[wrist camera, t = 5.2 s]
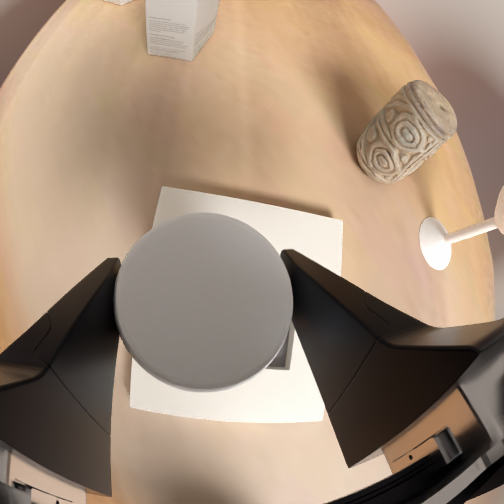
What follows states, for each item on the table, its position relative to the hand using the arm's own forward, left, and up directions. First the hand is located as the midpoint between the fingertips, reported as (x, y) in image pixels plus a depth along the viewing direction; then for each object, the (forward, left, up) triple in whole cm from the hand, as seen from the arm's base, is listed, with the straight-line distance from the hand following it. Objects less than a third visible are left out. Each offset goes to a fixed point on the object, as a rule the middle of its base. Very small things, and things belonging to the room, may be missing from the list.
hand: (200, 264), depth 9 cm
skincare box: (+30, +8, -13) cm, 34 cm away
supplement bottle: (-1, 0, -7) cm, 7 cm away
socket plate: (-1, -4, -13) cm, 14 cm away
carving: (+17, -17, -13) cm, 27 cm away
